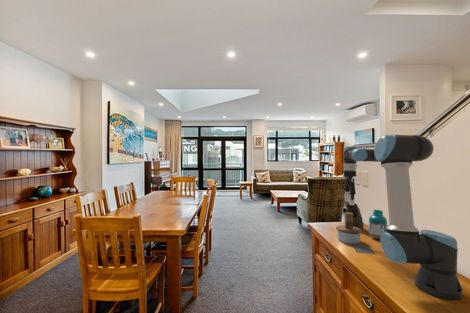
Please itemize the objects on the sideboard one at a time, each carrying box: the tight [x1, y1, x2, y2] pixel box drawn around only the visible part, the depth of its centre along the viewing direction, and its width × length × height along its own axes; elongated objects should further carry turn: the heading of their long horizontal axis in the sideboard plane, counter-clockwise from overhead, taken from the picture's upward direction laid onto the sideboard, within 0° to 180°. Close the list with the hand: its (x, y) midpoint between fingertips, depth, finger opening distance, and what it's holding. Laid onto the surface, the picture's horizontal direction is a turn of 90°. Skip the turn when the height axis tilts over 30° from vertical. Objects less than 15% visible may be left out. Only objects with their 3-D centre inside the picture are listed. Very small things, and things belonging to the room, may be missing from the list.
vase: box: [368, 209, 388, 241], centre depth 162 cm, size 11×11×19 cm
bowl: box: [336, 230, 362, 245], centre depth 157 cm, size 13×13×7 cm
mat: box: [351, 243, 377, 255], centre depth 142 cm, size 14×10×1 cm
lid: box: [335, 211, 363, 234], centre depth 157 cm, size 15×15×11 cm
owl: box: [345, 202, 364, 231], centre depth 187 cm, size 13×13×20 cm
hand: (349, 203), depth 156 cm, fingers open, 13 cm apart
